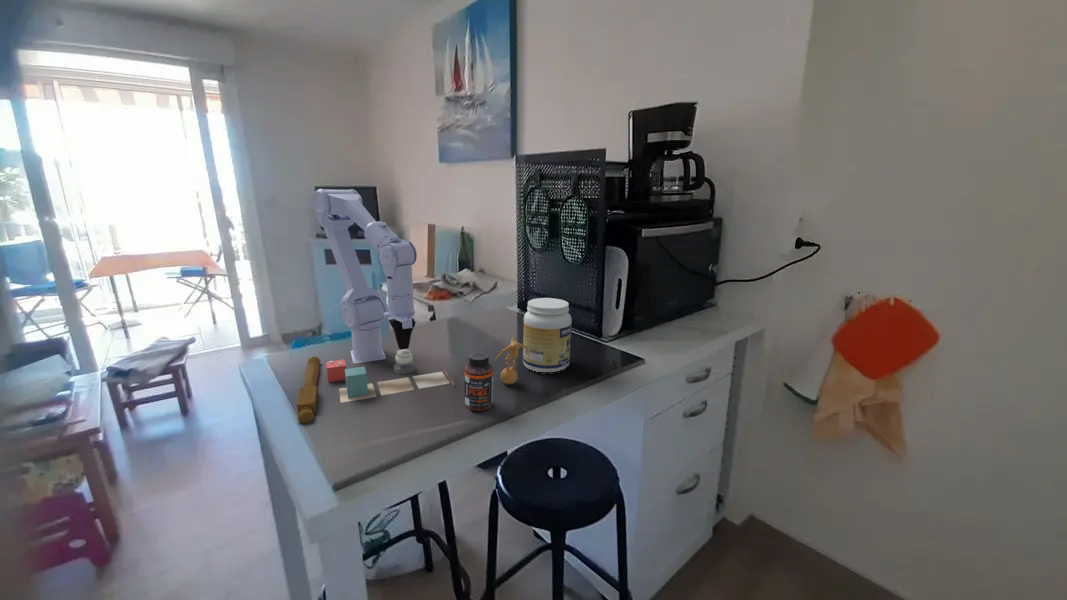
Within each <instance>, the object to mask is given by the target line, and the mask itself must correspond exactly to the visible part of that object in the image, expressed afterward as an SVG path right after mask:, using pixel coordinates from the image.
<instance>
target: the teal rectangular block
mask: <svg viewBox="0 0 1067 600" xmlns="http://www.w3.org/2000/svg"><path fill="white" fill-rule="evenodd" d="M367 374H368V373H367V370H366V367H365V365H364V366H359V367H351V368H350V367H349V368H346V369H345V378H346V380H345V386H346V387H345V388H347V395H348V398H353V397H358V396H364V395H368V387H367V384H368V376H367Z"/></svg>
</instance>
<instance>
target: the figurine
mask: <svg viewBox="0 0 1067 600" xmlns="http://www.w3.org/2000/svg"><path fill="white" fill-rule="evenodd" d="M520 348H522V349H523V348H526V352H527V353H526V354H528V347H527V346H526V345H523V343H520V342H518V341H517V340H516V338H515V337H511V340H510V344H509V345H508V346H507V347H504V348H503V349H502V350H501V351H500V352H499V353H498V354H497V356H496V357H495V361H496V360H497V358H499V357H500V356H501V355H503V353H504V352H507V351H508V350H509V351H510V353H507V356H506V357H505V362H506V365H507V367H504V369H502V370H501V372H500V379H501V382H503V384H505V385H513V384H514V383H516V381H517V379H518V375H519V374H518V371H517V370H516V369H515V368H516V364H517V361H516V359H517V358H518V357H519V350H520ZM511 359H512V363H513V365H512V366H510V365H511V363H510V360H511Z"/></svg>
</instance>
